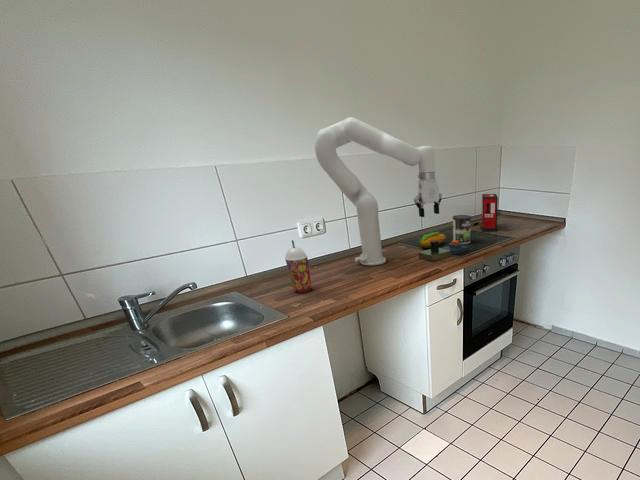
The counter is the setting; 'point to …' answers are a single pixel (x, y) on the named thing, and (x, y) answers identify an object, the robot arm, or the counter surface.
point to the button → (455, 242)
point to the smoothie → (298, 269)
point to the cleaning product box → (489, 212)
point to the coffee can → (462, 228)
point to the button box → (456, 248)
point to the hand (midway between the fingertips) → (429, 215)
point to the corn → (429, 237)
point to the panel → (434, 254)
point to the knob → (434, 246)
